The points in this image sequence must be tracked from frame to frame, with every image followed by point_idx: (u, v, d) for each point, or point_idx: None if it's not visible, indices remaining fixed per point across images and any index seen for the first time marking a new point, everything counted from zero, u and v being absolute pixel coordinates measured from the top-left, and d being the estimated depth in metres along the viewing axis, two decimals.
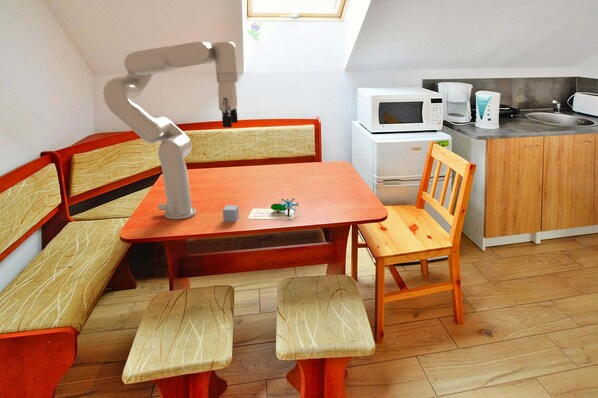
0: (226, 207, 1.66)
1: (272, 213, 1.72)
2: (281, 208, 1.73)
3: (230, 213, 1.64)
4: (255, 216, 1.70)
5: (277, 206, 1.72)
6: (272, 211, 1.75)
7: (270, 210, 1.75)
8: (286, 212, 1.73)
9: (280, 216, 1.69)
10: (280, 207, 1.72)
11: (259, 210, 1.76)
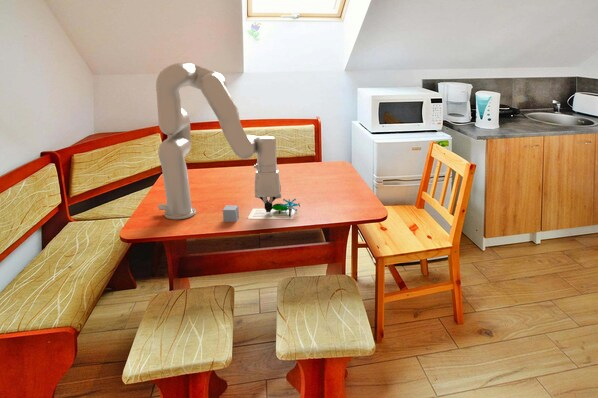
0: (226, 207, 1.66)
1: (272, 213, 1.72)
2: (282, 208, 1.73)
3: (230, 213, 1.64)
4: (255, 216, 1.70)
5: (279, 206, 1.72)
6: (272, 211, 1.75)
7: None
8: (286, 212, 1.73)
9: (280, 216, 1.69)
10: (282, 207, 1.72)
11: (259, 210, 1.76)
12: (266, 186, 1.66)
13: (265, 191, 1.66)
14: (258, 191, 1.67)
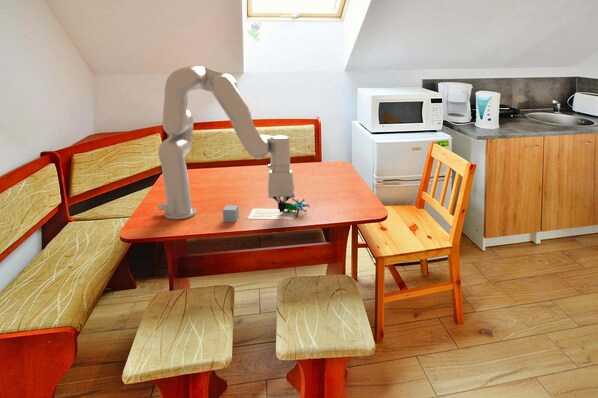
0: (226, 207, 1.66)
1: (272, 213, 1.72)
2: (292, 208, 1.73)
3: (230, 213, 1.64)
4: (255, 216, 1.70)
5: (288, 205, 1.72)
6: (272, 211, 1.75)
7: (270, 210, 1.75)
8: (286, 212, 1.73)
9: (280, 216, 1.69)
10: (291, 207, 1.72)
11: (259, 210, 1.76)
12: (279, 186, 1.65)
13: (279, 191, 1.66)
14: (272, 191, 1.66)
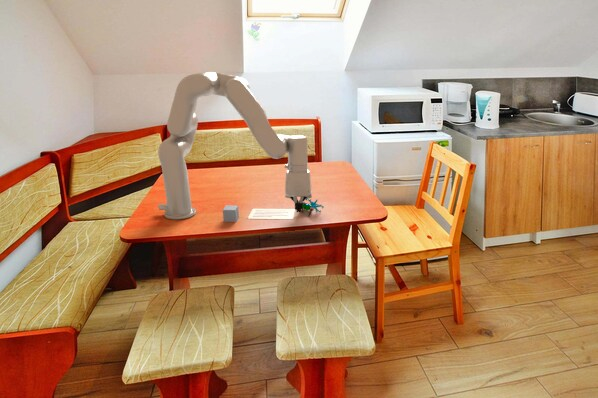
0: (226, 207, 1.66)
1: (272, 213, 1.72)
2: (307, 207, 1.73)
3: (230, 213, 1.64)
4: (255, 216, 1.70)
5: (303, 205, 1.73)
6: (272, 211, 1.75)
7: (270, 210, 1.75)
8: (286, 212, 1.73)
9: (280, 216, 1.69)
10: (306, 206, 1.73)
11: (259, 210, 1.76)
12: (297, 186, 1.65)
13: (296, 191, 1.65)
14: (289, 191, 1.66)
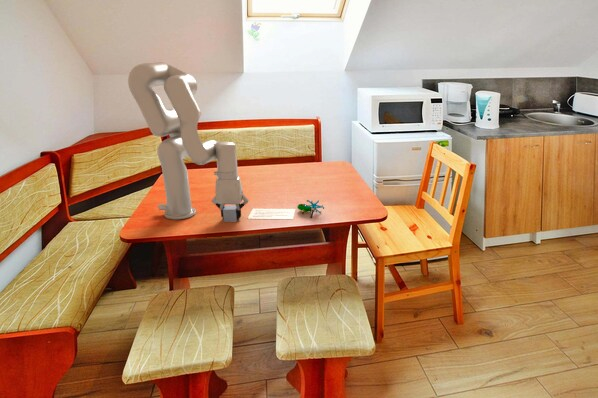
0: (226, 207, 1.66)
1: (272, 213, 1.72)
2: (307, 209, 1.72)
3: (230, 213, 1.64)
4: (255, 216, 1.70)
5: (303, 206, 1.71)
6: (272, 211, 1.75)
7: (270, 210, 1.75)
8: (286, 212, 1.73)
9: (280, 216, 1.69)
10: (306, 208, 1.72)
11: (259, 210, 1.76)
12: (227, 194, 1.61)
13: (226, 199, 1.62)
14: (219, 198, 1.62)
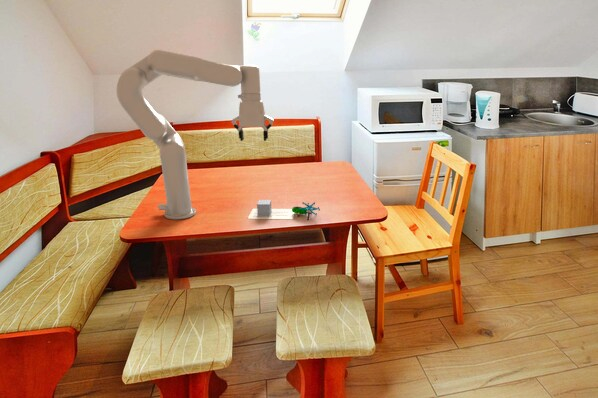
0: (259, 202, 1.70)
1: (272, 213, 1.72)
2: (302, 211, 1.70)
3: (264, 207, 1.69)
4: (255, 216, 1.70)
5: (298, 209, 1.69)
6: (272, 211, 1.75)
7: None
8: (286, 212, 1.73)
9: (280, 216, 1.69)
10: (301, 210, 1.69)
11: None
12: (250, 116, 1.67)
13: (249, 121, 1.68)
14: (242, 121, 1.68)
